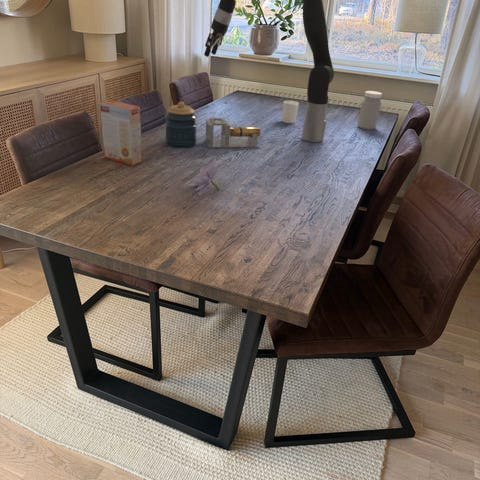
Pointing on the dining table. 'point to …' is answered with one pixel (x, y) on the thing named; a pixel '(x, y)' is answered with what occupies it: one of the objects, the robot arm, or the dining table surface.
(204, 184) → the water lily
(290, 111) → the white cup
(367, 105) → the jar
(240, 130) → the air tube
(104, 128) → the cracker box
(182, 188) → the dining table surface
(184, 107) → the canister
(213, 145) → the collar stand
